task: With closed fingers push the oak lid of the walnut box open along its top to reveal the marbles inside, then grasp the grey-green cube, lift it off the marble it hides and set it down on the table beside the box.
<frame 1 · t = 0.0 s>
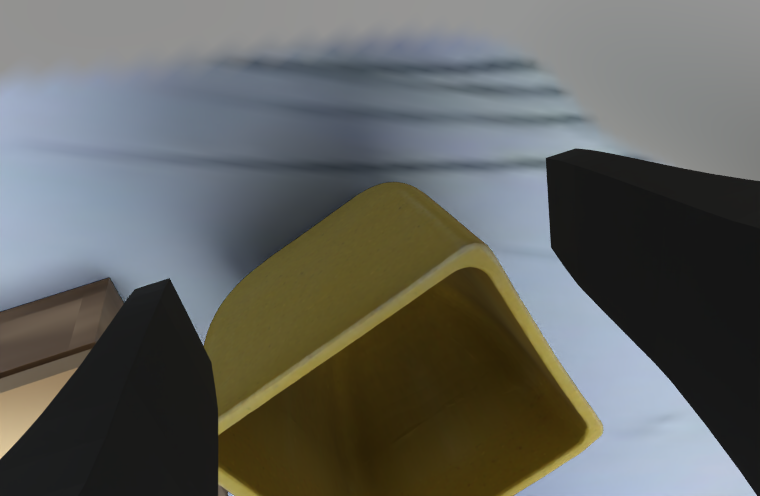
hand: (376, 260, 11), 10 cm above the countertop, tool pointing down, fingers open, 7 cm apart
flower pot: (345, 266, 23), on the countertop
walnut box: (51, 438, 23), on the countertop
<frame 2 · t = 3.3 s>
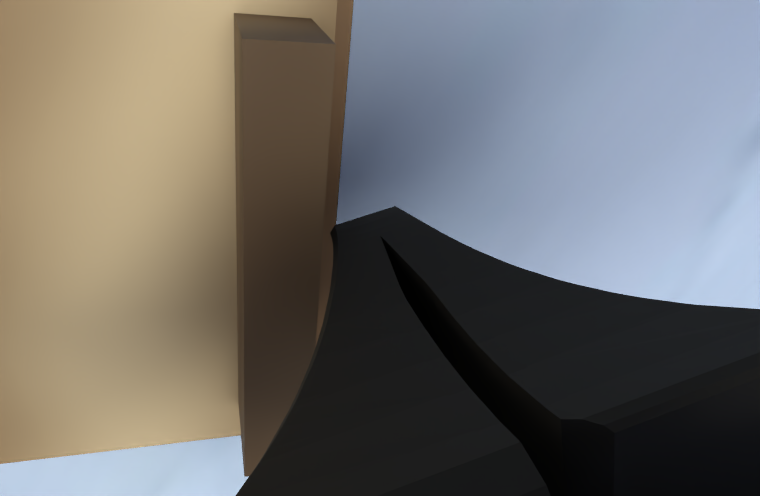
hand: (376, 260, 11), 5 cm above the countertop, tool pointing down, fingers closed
walnut box: (52, 151, 14), on the countertop
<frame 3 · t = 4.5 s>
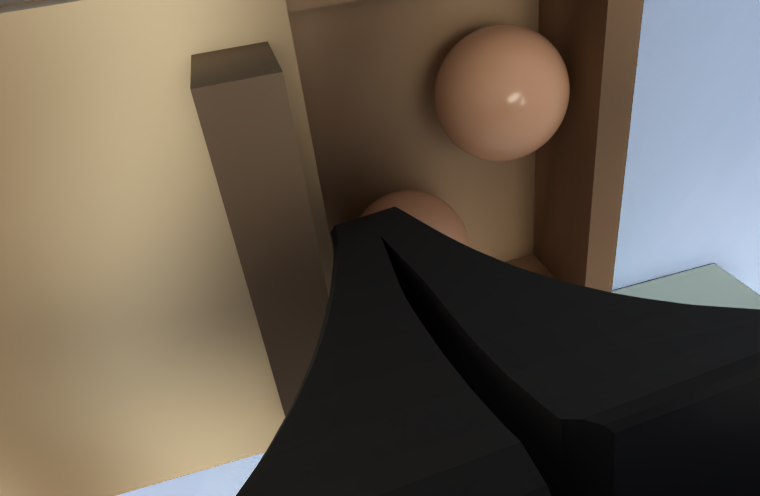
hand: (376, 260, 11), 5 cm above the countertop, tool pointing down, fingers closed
marble b: (409, 250, 15), point 2 cm above the countertop, touching walnut box
marble a: (500, 94, 14), point 2 cm above the countertop, touching walnut box
grey-green cube: (636, 342, 23), on the countertop
walnut box: (339, 151, 16), on the countertop
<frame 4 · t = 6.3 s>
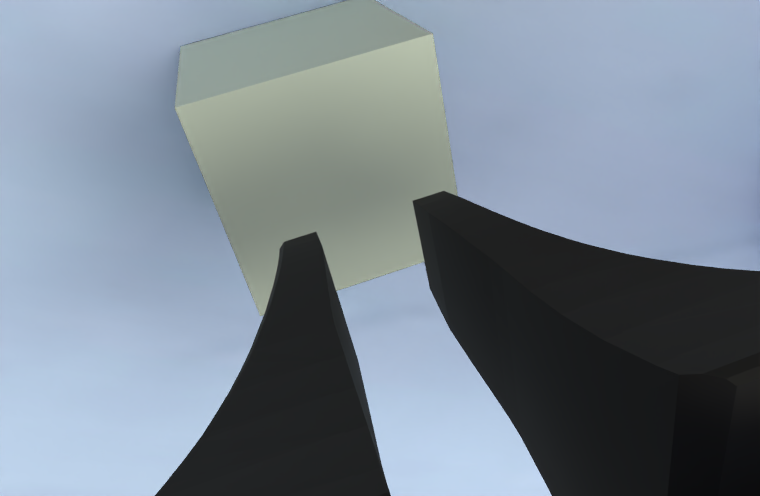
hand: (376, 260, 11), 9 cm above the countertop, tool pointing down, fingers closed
grey-green cube: (301, 110, 19), on the countertop
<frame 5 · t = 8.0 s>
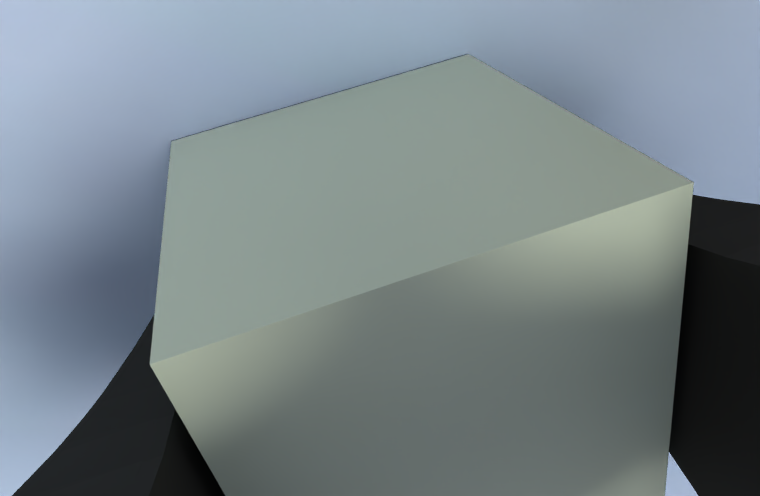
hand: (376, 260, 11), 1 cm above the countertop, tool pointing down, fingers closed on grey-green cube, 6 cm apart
grey-green cube: (358, 226, 12), on the countertop, touching gripper
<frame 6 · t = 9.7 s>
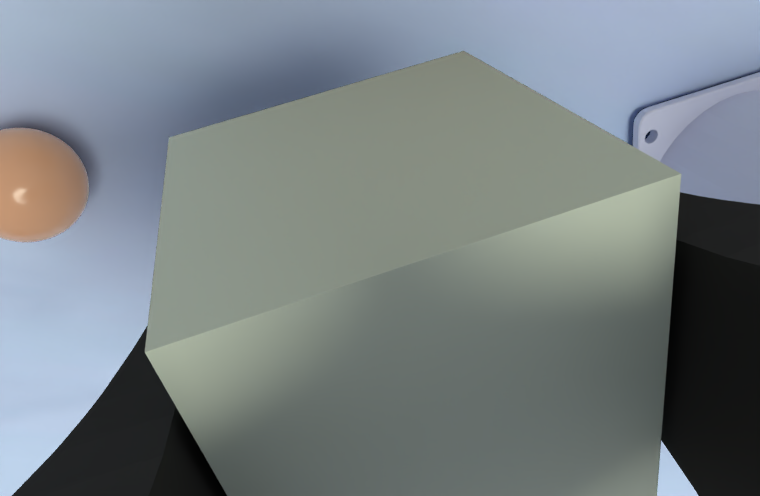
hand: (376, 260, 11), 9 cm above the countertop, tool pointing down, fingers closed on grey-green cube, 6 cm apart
marble c: (26, 185, 16), point 1 cm above the countertop
grey-green cube: (355, 222, 12), point 7 cm above the countertop, touching gripper
when the fingers open (3 cm above the countertop, at t = 11.6 s): grey-green cube drops 1 cm, on the countertop.
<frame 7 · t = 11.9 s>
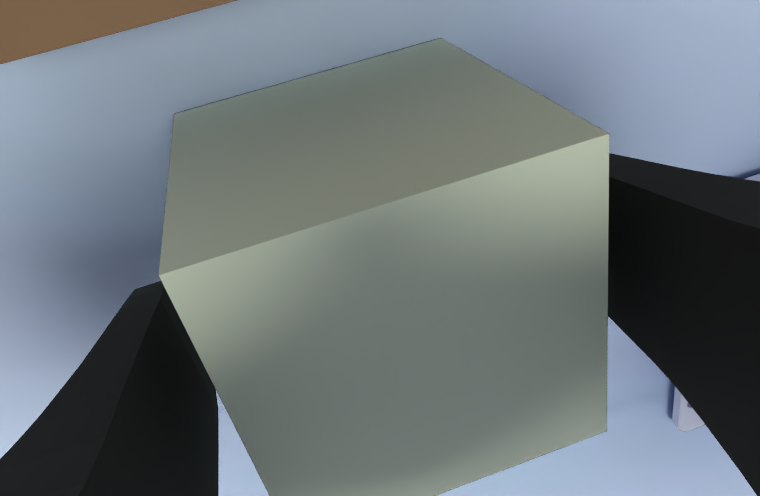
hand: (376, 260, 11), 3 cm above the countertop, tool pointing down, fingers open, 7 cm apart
grey-green cube: (343, 195, 14), on the countertop
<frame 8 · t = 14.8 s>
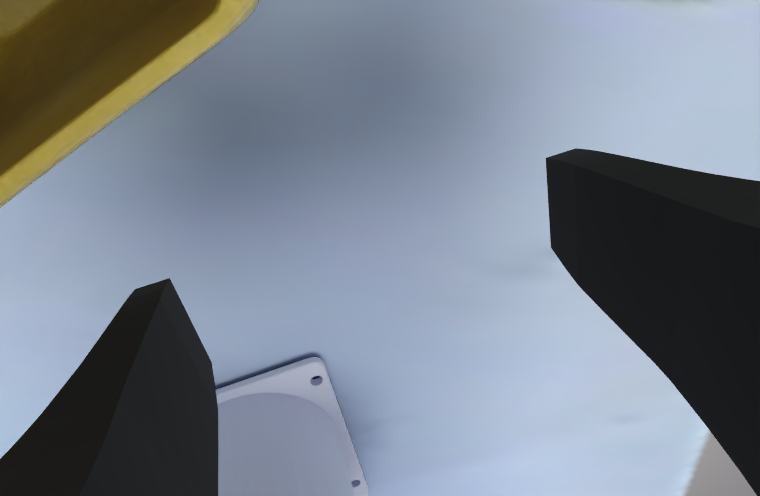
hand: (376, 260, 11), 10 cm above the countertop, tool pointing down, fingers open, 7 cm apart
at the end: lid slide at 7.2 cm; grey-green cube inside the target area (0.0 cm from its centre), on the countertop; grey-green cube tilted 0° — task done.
